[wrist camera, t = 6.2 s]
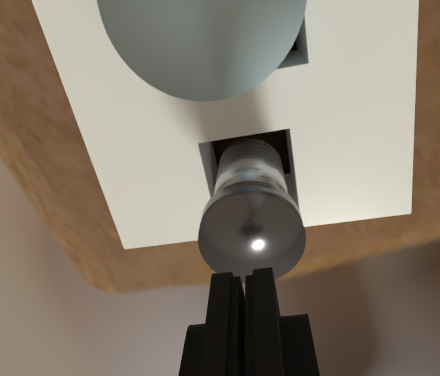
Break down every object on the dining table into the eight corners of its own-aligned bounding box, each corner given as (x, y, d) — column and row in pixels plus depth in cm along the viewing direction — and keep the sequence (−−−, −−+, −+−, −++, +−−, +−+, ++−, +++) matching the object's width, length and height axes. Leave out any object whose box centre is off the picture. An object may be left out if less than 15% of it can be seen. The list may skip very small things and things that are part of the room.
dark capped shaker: (205, 139, 18) (187, 202, 12) (283, 126, 17) (300, 187, 12) (220, 206, 19) (209, 288, 14) (292, 195, 19) (310, 277, 13)
